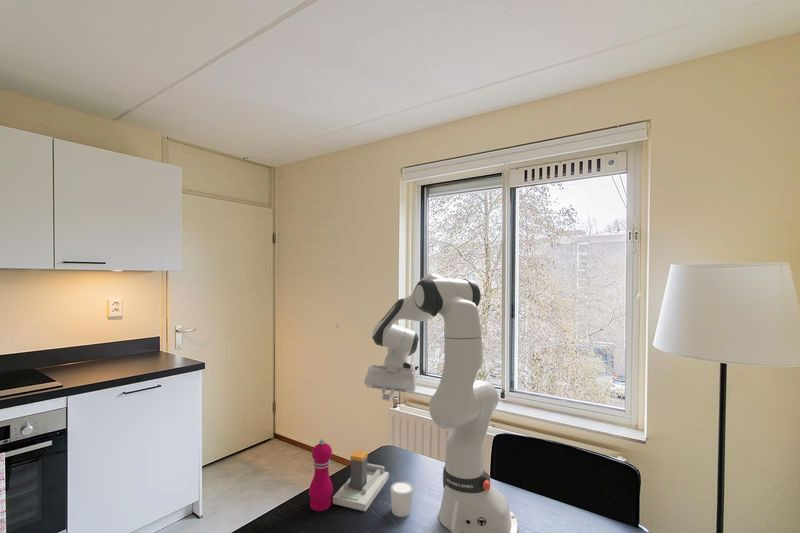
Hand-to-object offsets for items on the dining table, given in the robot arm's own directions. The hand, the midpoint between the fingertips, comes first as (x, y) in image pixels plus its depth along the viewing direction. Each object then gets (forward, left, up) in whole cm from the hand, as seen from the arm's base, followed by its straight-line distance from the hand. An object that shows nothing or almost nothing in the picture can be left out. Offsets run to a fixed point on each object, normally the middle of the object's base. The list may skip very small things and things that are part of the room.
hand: (386, 399), depth 145 cm
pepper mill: (+9, +32, -24) cm, 41 cm away
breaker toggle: (+1, +22, -21) cm, 31 cm away
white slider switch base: (0, +20, -23) cm, 31 cm away
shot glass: (-15, +26, -24) cm, 38 cm away
